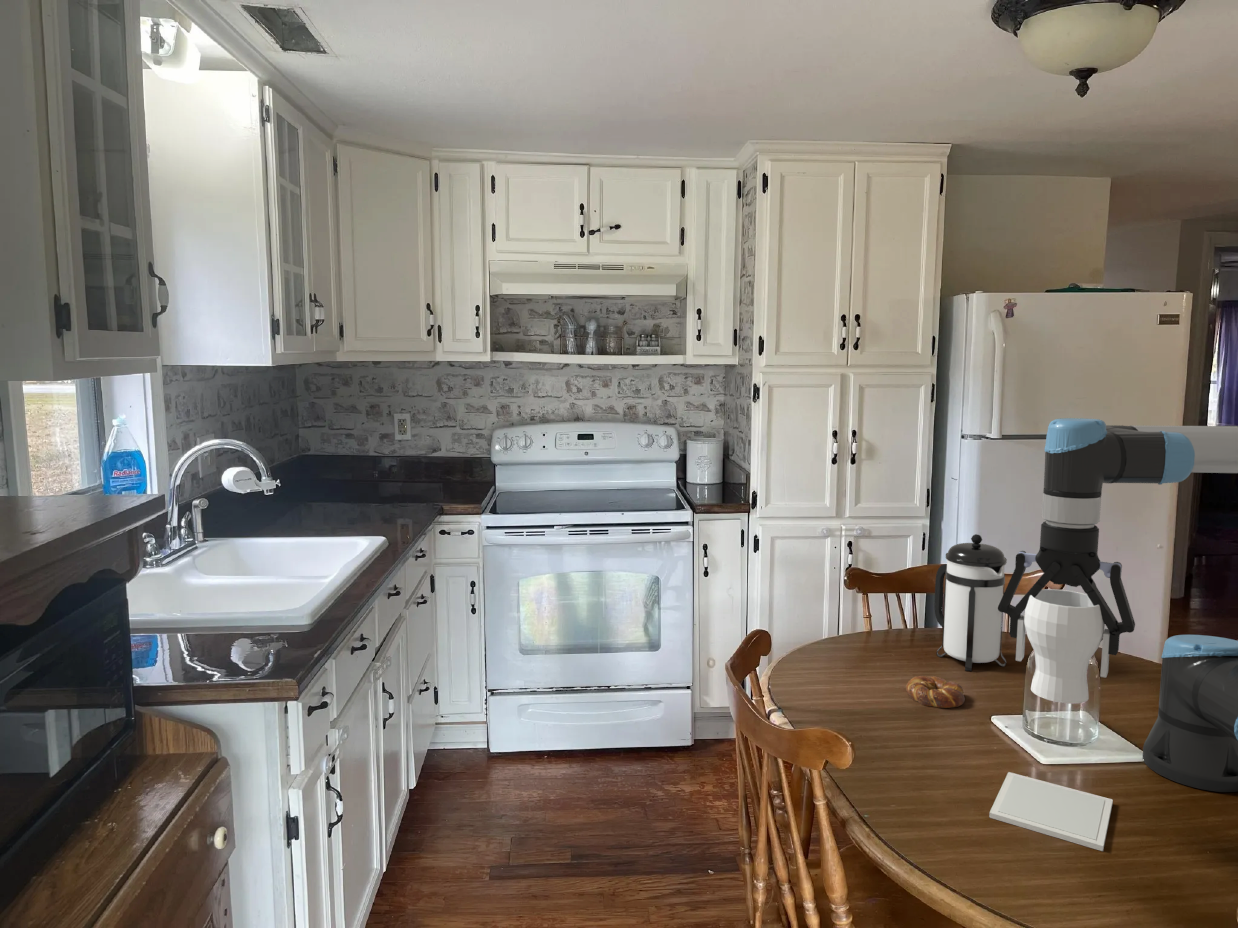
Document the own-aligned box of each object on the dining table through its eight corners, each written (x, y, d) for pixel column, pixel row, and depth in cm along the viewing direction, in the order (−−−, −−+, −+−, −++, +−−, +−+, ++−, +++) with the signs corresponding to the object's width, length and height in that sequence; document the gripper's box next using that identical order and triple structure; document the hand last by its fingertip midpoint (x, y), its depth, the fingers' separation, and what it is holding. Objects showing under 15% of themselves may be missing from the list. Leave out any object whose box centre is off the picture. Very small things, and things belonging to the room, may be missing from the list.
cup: (1029, 674, 130) (1034, 584, 128) (1105, 691, 123) (1112, 595, 121) (1012, 696, 122) (1017, 599, 120) (1092, 714, 115) (1099, 613, 113)
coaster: (1112, 804, 126) (1112, 798, 126) (1102, 851, 114) (1103, 845, 114) (1008, 776, 135) (1008, 771, 135) (989, 817, 123) (989, 811, 123)
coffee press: (1010, 655, 190) (1017, 531, 187) (1001, 677, 177) (1008, 544, 173) (933, 642, 199) (938, 523, 196) (919, 662, 186) (924, 535, 182)
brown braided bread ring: (893, 696, 169) (893, 679, 168) (923, 683, 175) (923, 667, 175) (946, 715, 159) (946, 697, 159) (975, 701, 165) (976, 684, 165)
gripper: (1164, 527, 115) (1153, 674, 118) (991, 511, 129) (984, 643, 132) (1162, 536, 109) (1150, 691, 112) (980, 518, 123) (973, 657, 126)
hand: (1060, 666), depth 122 cm, fingers closed on cup, 11 cm apart
